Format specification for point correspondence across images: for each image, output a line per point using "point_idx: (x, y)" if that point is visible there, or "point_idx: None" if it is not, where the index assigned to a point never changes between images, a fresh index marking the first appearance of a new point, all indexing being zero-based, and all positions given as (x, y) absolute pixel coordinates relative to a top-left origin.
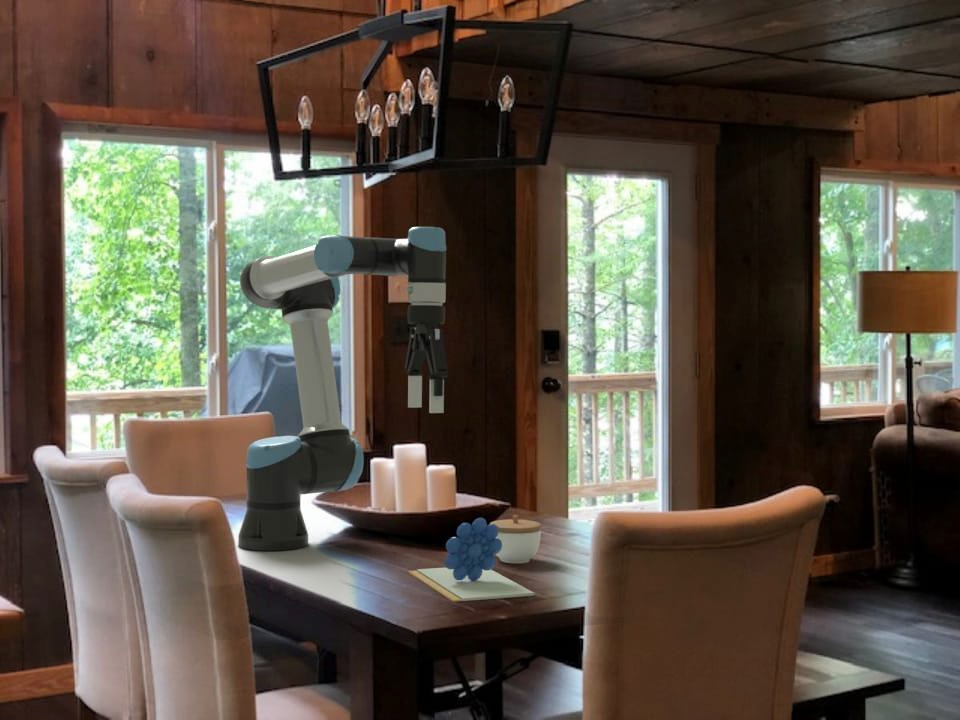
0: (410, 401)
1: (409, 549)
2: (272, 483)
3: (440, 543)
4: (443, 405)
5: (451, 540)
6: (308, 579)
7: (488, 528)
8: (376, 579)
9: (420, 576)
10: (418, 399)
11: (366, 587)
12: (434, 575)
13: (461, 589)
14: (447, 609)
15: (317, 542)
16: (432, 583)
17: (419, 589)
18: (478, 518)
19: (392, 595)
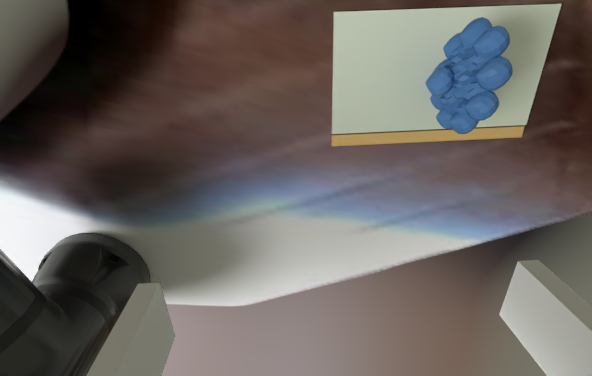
0: (164, 361)
1: (148, 95)
2: (91, 360)
3: (88, 16)
4: (571, 289)
5: (473, 128)
6: (328, 263)
7: (502, 53)
8: (357, 194)
9: (373, 139)
10: (145, 336)
11: (395, 214)
12: (381, 120)
13: None
14: (547, 153)
15: (80, 219)
16: (421, 135)
17: (435, 157)
18: (504, 78)
19: (448, 195)
